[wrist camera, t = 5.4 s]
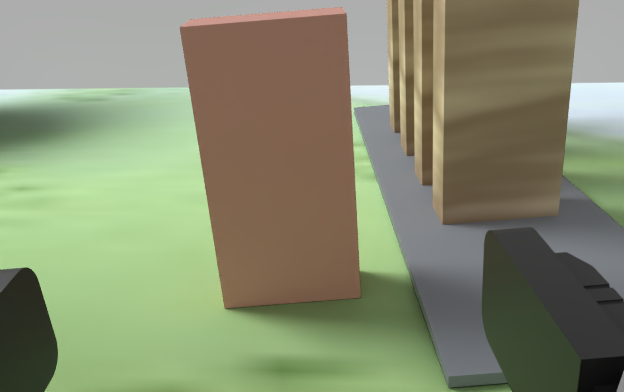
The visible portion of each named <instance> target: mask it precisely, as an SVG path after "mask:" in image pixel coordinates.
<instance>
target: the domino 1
mask: <svg viewBox="0 0 624 392" xmlns="http://www.w3.org/2000/svg"><path fill="white" fill-rule="evenodd" d="M180 32H181V38H182V45H183V51H184V57H185V63H186V70H187V76H188V82H189V89H190V95H191V101H192V107H193V114H194V120H195V126H196V132H197V139H198V145H199V151H200V157H201V164H202V170H203V176H204V182H205V189H206V195H207V201H208V207H209V214H210V220H211V226H212V232H213V239H214V245H215V251H216V257H217V264H218V270H219V276H220V282H221V289H222V295H223V301H224V307H225V308H236V307H249V306H262V305H274V304H287V303H300V302H313V301H326V300H338V299H351V298H361V289H360V269H359V250H358V230H357V211H356V191H355V172H354V152H353V133H352V113H351V94H350V74H349V55H348V37H347V36H348V35H347V16H346V12H345V11H344V9H343V8H342V7H335V8H323V9H311V10H298V11H286V12H274V13H262V14H250V15H237V16H225V17H213V18H201V19H191V20H189V21H188V22H186V23H185V24H183V25H182V26H181V27H180Z"/></svg>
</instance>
